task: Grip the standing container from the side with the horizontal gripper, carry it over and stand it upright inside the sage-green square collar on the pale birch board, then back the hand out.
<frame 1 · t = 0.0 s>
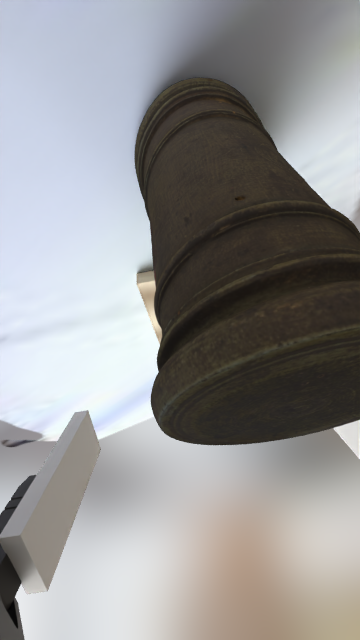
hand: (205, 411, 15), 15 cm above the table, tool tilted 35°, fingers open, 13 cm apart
container: (197, 160, 19), on the table
collar board: (233, 316, 33), on the table
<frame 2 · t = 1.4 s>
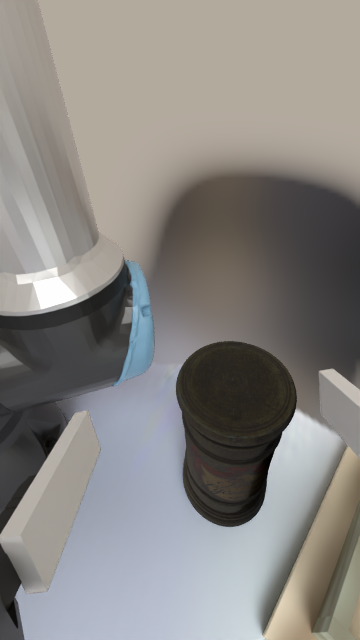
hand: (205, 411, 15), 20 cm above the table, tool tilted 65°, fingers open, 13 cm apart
container: (223, 480, 30), on the table
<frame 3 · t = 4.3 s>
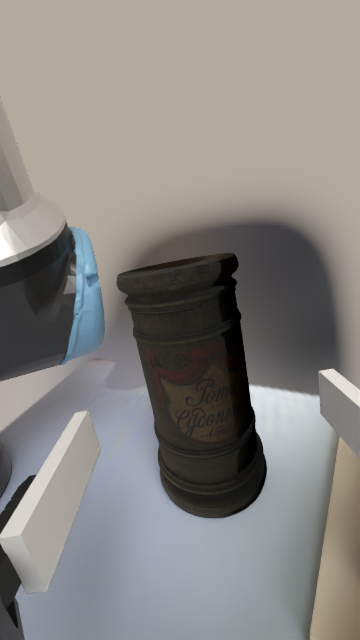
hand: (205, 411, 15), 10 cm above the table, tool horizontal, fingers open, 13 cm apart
container: (213, 471, 23), on the table
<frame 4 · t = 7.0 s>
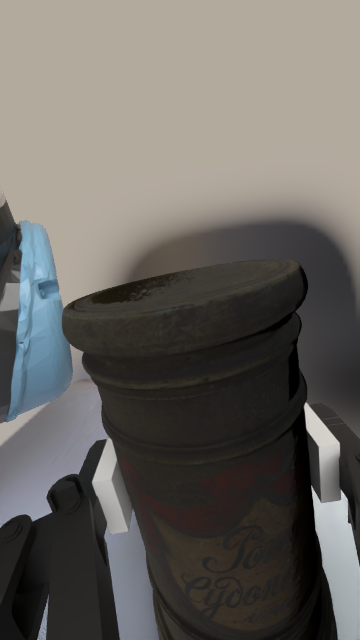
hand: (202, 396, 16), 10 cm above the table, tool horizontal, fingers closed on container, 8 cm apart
container: (241, 605, 14), on the table, touching gripper
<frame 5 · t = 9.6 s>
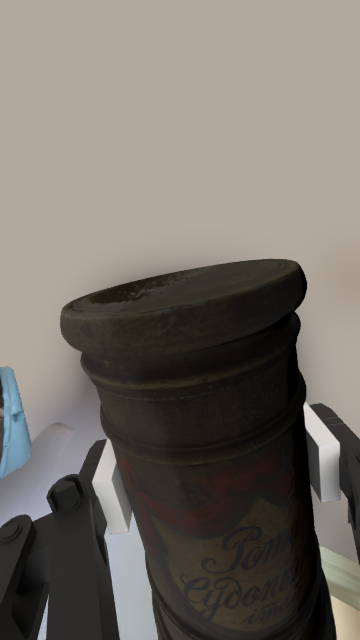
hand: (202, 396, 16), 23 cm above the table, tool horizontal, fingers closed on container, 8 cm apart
container: (241, 605, 14), point 13 cm above the table, touching gripper
when the fingers open (13 cm above the table, at t = 12.6 s): container drops 1 cm, resting on collar board.
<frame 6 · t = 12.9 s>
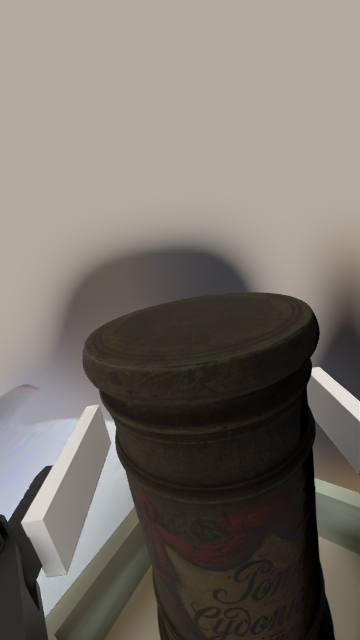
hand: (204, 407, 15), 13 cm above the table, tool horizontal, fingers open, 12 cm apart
container: (243, 624, 15), point 1 cm above the table, touching collar board
collar board: (246, 636, 15), on the table
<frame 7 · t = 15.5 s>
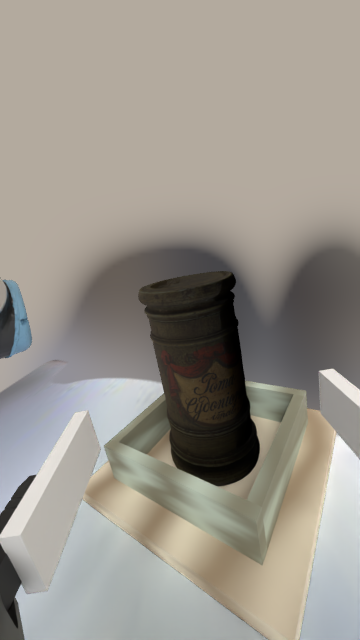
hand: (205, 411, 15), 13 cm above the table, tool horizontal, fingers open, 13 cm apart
container: (215, 451, 27), point 1 cm above the table, touching collar board
collar board: (217, 460, 28), on the table
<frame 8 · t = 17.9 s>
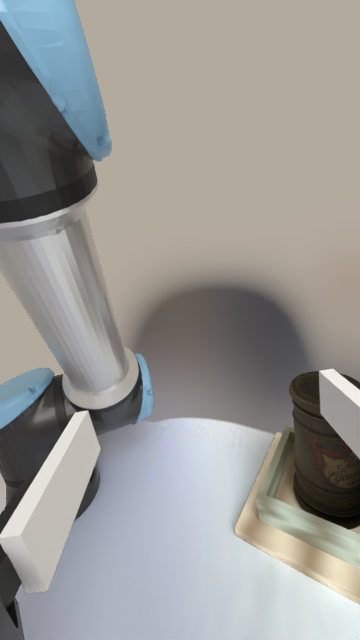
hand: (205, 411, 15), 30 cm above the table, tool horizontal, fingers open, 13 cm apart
container: (329, 499, 37), point 1 cm above the table, touching collar board
collar board: (329, 505, 37), on the table
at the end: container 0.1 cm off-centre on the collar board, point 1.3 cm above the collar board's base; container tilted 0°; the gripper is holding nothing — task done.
